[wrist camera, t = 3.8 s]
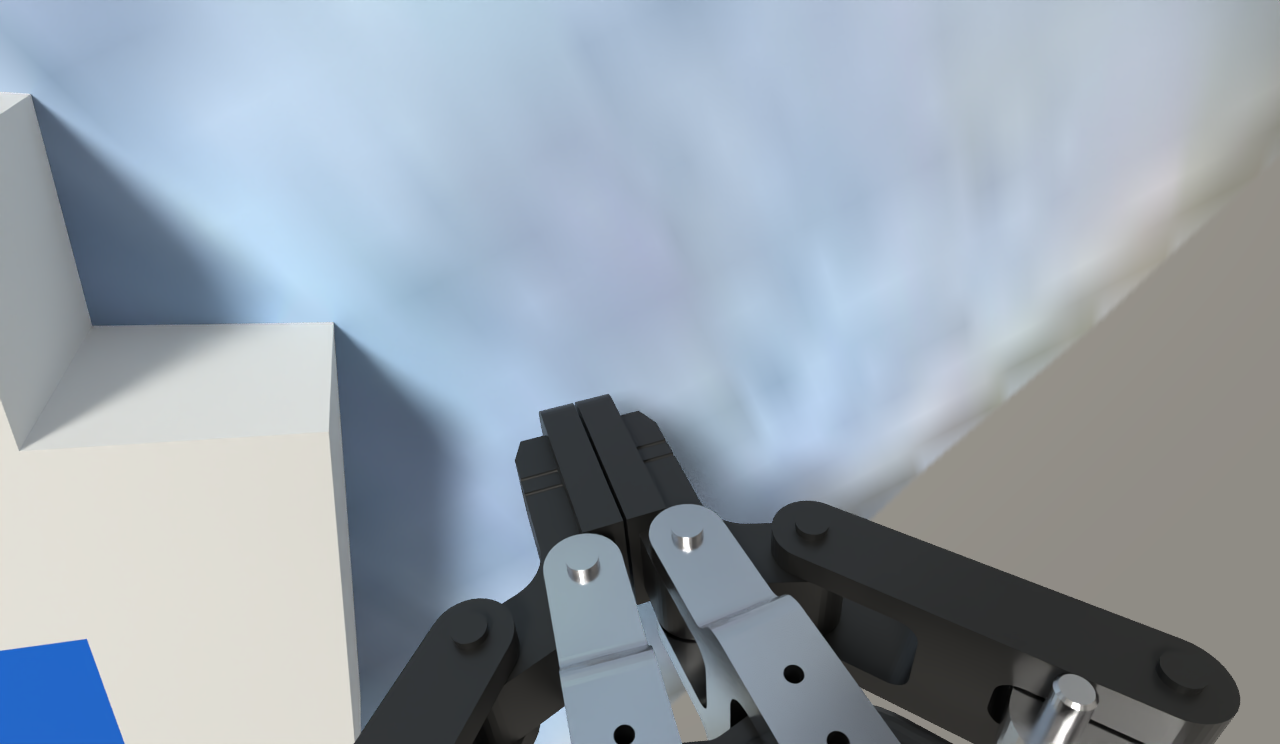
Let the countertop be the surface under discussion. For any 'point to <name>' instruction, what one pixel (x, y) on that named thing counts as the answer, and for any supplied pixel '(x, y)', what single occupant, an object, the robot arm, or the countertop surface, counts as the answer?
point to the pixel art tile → (162, 509)
